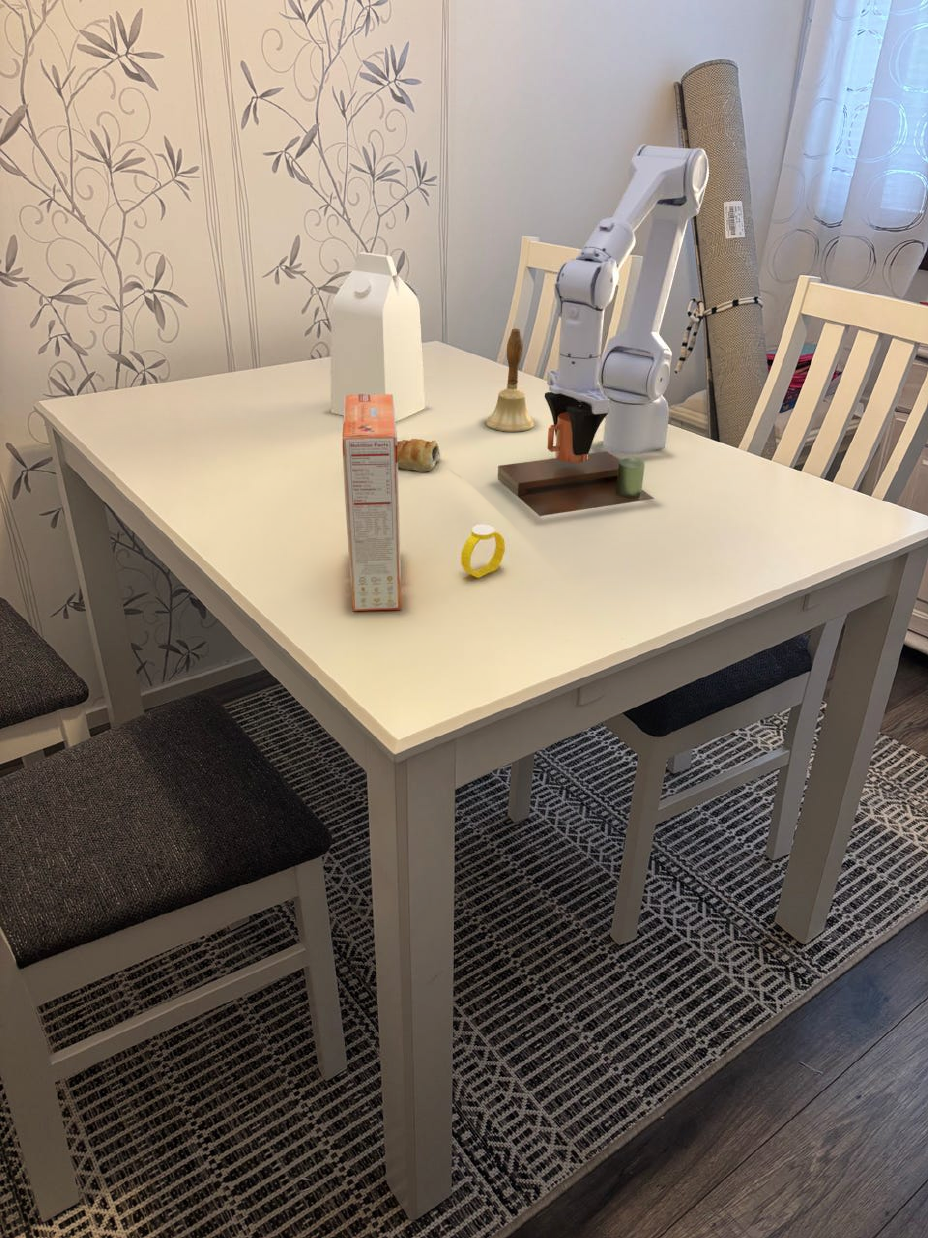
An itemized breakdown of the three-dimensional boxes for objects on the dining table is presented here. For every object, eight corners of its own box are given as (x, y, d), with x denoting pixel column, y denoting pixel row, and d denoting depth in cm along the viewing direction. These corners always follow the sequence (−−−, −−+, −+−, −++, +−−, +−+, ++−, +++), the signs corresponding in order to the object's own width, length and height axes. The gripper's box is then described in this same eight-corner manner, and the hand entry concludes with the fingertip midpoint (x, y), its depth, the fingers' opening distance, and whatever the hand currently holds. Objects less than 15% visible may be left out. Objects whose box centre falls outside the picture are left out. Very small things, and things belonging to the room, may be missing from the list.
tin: (632, 486, 140) (636, 456, 138) (646, 495, 137) (649, 465, 135) (611, 489, 139) (614, 459, 137) (623, 498, 136) (627, 468, 134)
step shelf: (605, 469, 148) (606, 451, 147) (653, 504, 137) (656, 484, 135) (497, 484, 142) (497, 465, 141) (539, 522, 131) (540, 502, 129)
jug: (582, 448, 143) (585, 409, 140) (597, 460, 140) (601, 419, 136) (539, 454, 141) (541, 414, 138) (554, 466, 137) (557, 425, 134)
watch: (492, 562, 120) (494, 518, 117) (508, 570, 119) (510, 525, 116) (456, 576, 117) (457, 531, 114) (471, 585, 115) (473, 539, 112)
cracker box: (350, 557, 121) (343, 392, 110) (399, 556, 121) (396, 391, 111) (348, 613, 109) (340, 434, 98) (402, 612, 109) (399, 433, 99)
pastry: (371, 467, 147) (371, 443, 145) (384, 452, 153) (383, 429, 151) (432, 473, 145) (432, 449, 143) (442, 458, 151) (442, 434, 149)
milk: (425, 408, 172) (425, 253, 159) (386, 425, 163) (383, 264, 150) (370, 396, 177) (366, 245, 164) (330, 412, 169) (322, 255, 156)
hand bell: (536, 418, 168) (542, 324, 160) (531, 434, 161) (537, 337, 153) (489, 414, 170) (492, 321, 162) (482, 430, 163) (485, 333, 155)
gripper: (530, 341, 137) (525, 434, 144) (578, 369, 126) (570, 468, 133) (574, 338, 140) (567, 428, 147) (626, 364, 128) (616, 462, 135)
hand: (572, 447), depth 140 cm, fingers closed on jug, 5 cm apart
